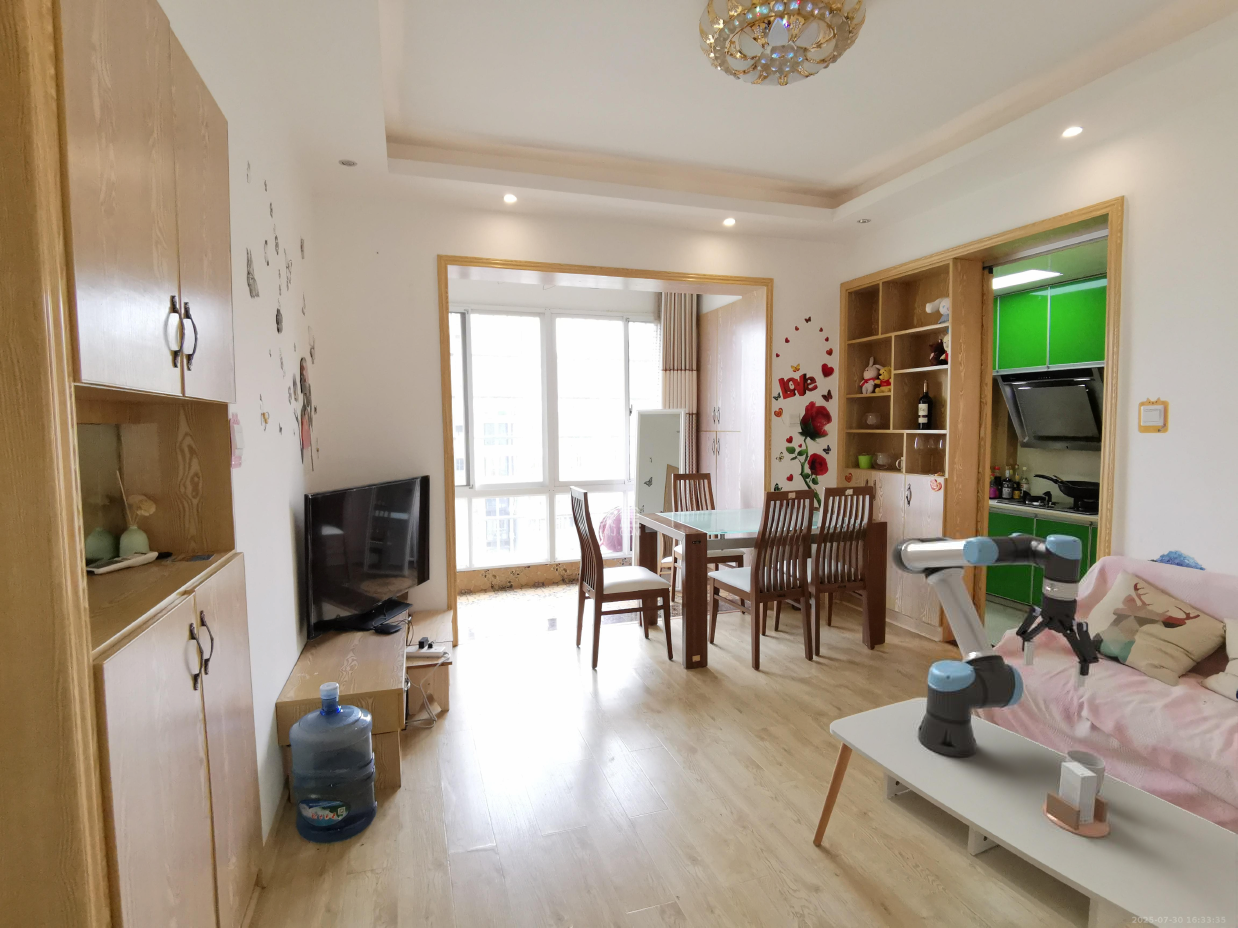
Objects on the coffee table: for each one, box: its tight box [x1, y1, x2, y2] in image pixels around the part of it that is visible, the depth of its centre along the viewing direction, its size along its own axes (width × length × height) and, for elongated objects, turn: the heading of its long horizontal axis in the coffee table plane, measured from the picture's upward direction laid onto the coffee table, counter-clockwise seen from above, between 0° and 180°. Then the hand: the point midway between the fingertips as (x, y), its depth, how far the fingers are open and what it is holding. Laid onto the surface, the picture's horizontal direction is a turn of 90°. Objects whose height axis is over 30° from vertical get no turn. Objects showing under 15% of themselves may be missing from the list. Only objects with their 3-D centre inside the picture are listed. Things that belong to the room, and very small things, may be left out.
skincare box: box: [1058, 761, 1097, 824], centre depth 151 cm, size 6×4×12 cm
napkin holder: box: [1042, 791, 1111, 839], centre depth 151 cm, size 13×13×6 cm
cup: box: [1065, 749, 1107, 796], centre depth 160 cm, size 8×8×10 cm
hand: (1052, 675), depth 164 cm, fingers open, 13 cm apart
